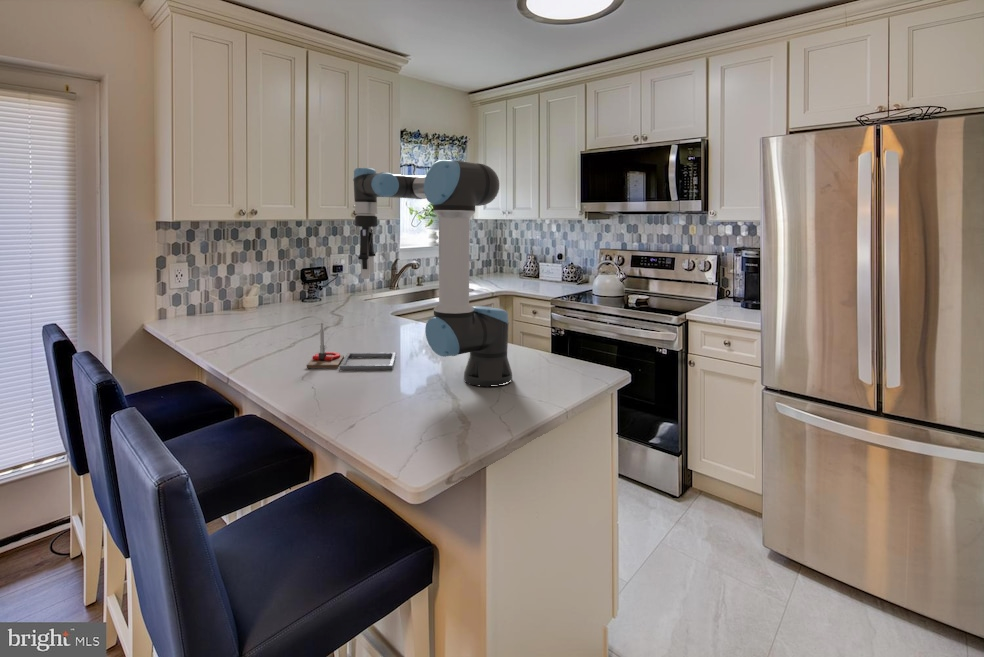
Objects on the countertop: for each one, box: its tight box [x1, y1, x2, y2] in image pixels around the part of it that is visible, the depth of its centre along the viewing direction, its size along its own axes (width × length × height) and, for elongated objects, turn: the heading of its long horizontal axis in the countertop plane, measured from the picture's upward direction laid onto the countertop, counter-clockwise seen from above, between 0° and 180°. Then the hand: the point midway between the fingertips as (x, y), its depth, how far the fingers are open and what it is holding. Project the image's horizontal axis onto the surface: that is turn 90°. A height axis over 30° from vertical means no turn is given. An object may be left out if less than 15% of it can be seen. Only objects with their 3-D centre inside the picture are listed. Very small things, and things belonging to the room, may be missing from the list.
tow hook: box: [312, 322, 341, 361], centre depth 180 cm, size 8×13×9 cm
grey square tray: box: [339, 352, 397, 371], centre depth 179 cm, size 17×17×2 cm
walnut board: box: [306, 355, 345, 369], centre depth 177 cm, size 12×10×1 cm
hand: (367, 276), depth 184 cm, fingers open, 13 cm apart
